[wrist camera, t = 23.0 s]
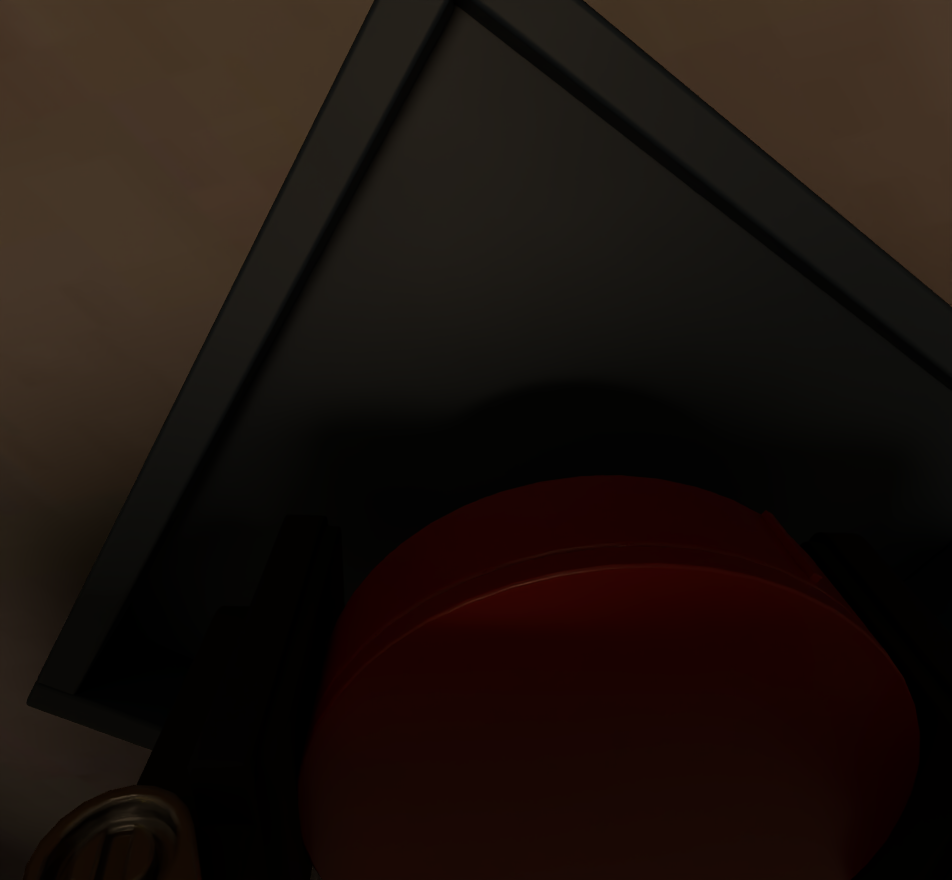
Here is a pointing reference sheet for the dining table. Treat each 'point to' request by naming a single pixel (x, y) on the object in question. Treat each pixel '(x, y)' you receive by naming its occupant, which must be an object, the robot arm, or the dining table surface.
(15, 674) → the dining table surface
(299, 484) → the tray
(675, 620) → the jar lid
